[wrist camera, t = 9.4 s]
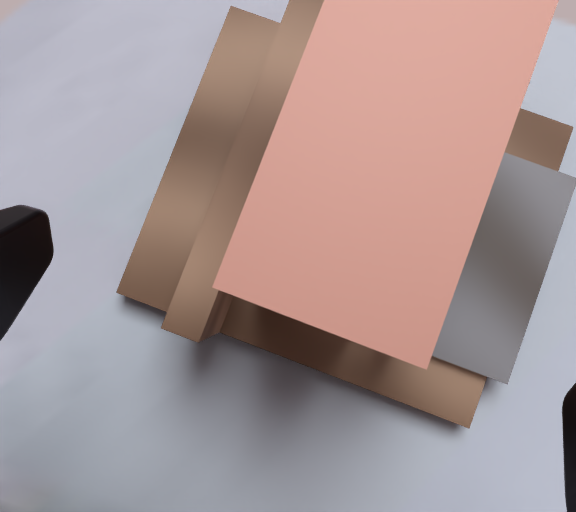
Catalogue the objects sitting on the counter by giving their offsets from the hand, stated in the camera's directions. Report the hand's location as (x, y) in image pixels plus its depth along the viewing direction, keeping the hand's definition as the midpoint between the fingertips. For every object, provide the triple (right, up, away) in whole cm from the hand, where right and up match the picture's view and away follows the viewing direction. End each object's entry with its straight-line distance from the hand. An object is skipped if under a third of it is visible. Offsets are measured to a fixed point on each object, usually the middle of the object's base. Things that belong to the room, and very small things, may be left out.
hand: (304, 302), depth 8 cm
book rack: (+2, +2, +12) cm, 12 cm away
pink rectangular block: (+2, +2, +11) cm, 11 cm away
